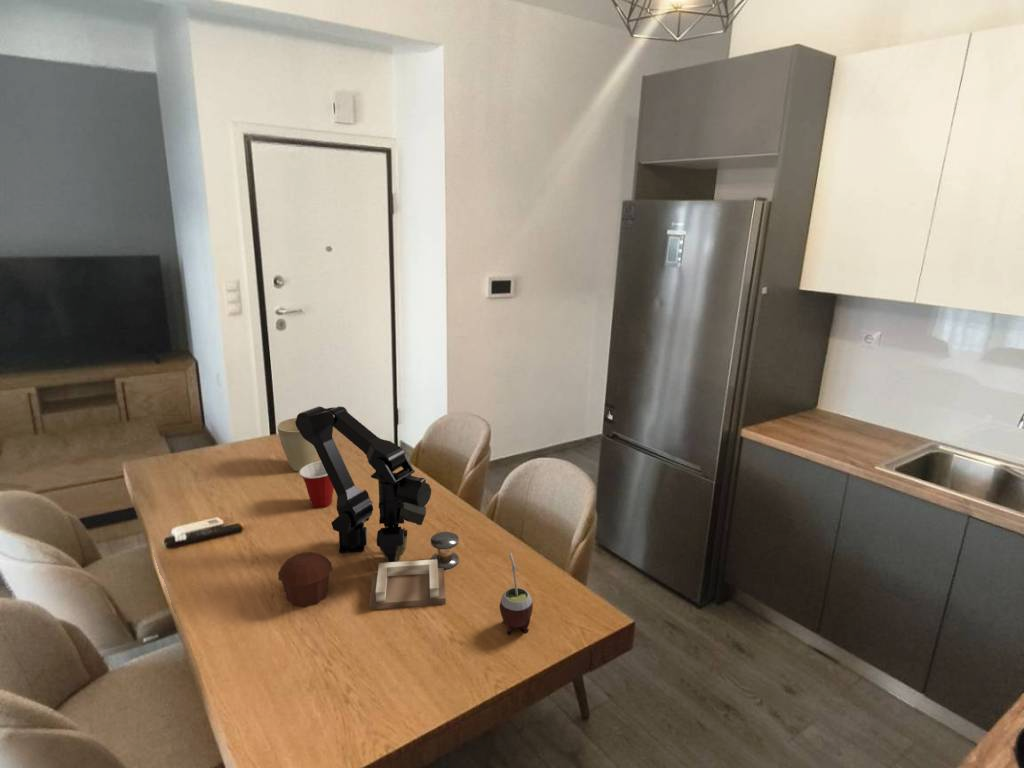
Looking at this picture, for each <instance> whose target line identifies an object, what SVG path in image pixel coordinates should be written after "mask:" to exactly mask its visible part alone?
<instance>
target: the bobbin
mask: <svg viewBox="0 0 1024 768" xmlns="http://www.w3.org/2000/svg"><path fill="white" fill-rule="evenodd" d="M459 542H460V541H459V536H458V535H457V534H456V533H454V532H451V531H440V532H436V533H435V534H433V535H431V537H430V544H431V546H432V547H433V548H434V549H436V553H434V554H433V555H432V556H431V557H430V560H434V559H437V562H438V568H444V570H450V569H453V568H455V567H457V565H458V564H459V559H460V558H459V555H458V554H457V553H455V552H454V549H453V548H455V547H456V546H457V545H458V544H459Z"/></svg>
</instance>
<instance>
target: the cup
mask: <svg viewBox="0 0 1024 768" xmlns="http://www.w3.org/2000/svg"><path fill="white" fill-rule="evenodd" d="M399 527H400V528H402V526H401V525H399ZM383 528H388V527H385V526H384V527H383ZM402 529H403V530H404V544H403V545H401V546H398V547H397V551H396V556H395V561H394V562H400V560H401V558H402V556H403V555H404V553H405V551H406V549H407V548H406V547H407V540H408V529H406V528H405V527H403V528H402ZM379 550H380V553H381V554H382V555H381V556H383V557H385V560H386V563H388V562H389V560H388V559H387V557H386V555H385V554H384V552H383V551H382V549H381V548H380V547H379Z"/></svg>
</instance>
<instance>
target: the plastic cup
mask: <svg viewBox="0 0 1024 768" xmlns="http://www.w3.org/2000/svg"><path fill="white" fill-rule="evenodd" d="M298 472H299V475H300V476H301V477H302V479H303V481H304V484H305V487H306V490H307V494H308V497H309V500H310V503H311V505H312V507H313V508H314V509H315V508H316V509H323V508H328V507H329V506H330V505H331V504H332V502H333V497H334V494H333V493H334V491H335V489H334V487H333V485H332V483H331V481H330V479H329V477H328V475H327V472H326V470H325V468H324V466H323V464H322V462H321V460H317V461H316V462H313V463H310V464H308V465H306V466H304V467H303V468H301V470H300V471H298Z"/></svg>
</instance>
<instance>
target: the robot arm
mask: <svg viewBox="0 0 1024 768" xmlns="http://www.w3.org/2000/svg"><path fill="white" fill-rule="evenodd" d="M295 418H296V421H295V423H296V427H297V429H298V430H299V432H300V433H301V435H302V437H303V438H304V439H305V440H307V441H308V442H310V443H311V444H312V445H314V447H315V449H316V451H317V453H318V457H319V459H320V460H319V461H321V462H322V464H323V466H324V468H325V470H326V472H327V475H328V477H329V479H330V481H331V483H332V485H333V487H334V492H335V493H336V496H337V497H336V507H335V508H336V510H337V514H338V516H337V517H335V519H334V520H332V522H331V528H332V530H333V531H336V532H337V533H338V542H339V543H338V545H339V547H338V553H339V554H344V553H358V552H362V553H363V552H364V551H365V547H366V546H367V545H368V532H367V531H368V529H367V526H365V523H366V522H369V520H370V518H371V516H372V515H373V511H374V507H373V504H374V502H373V501H372V499H371V498H370V495H369V493H368V490H366V489H364V490H361V489H359V488H358V487H357V486H356V485H355V482H354V480H353V478H352V477H351V474H350V472H349V470H348V468H347V466H346V464H345V462H344V460H343V458H342V454H341V453H340V451H339V449H338V447H337V445H336V442H335V440H334V437H333V432H334V429H335V430H337V431H338V432H339V433H340V434H342V436H343V437H345V438H346V439H347V440H348V441H350V442H351V443H352V444H353V445H355V446H356V447H357V448H358V449H359V450H361V451H362V453H364V454H365V455H366V458H367V463H368V464H369V465H370V466H371V467H372V468H373V469H374V470H375V471H374V472H373V473H372V474H371V475H370V477H371V478H372V479H375V480H377V481H378V510H379V521H378V522H379V525H381V524H383V526H384V527H388V528H384V527H381V528H380V529H378V531H377V533H376V534H377V535H376V546H377V547H378V548H379V549H380V548H381V549H382V551H383V552H384V554H385V555H386V557H387V559H388V560H389V562H394V561H395V556H396V551H397V547H398V546H401V545H403V544H404V530H403V528H402V527H401V528H400V527H399V526H400V525H399V524H401V525H402V524H405V522H408V523H412V524H416V526H417V525H418V526H422V525H423V522H424V520H425V517H426V515H427V508H426V505H427V504H428V503H429V501H430V499H431V495H432V488H431V485H430V484H429V483H427V481H426V480H427V479H426V478H425V477H420V476H419V477H417V476H415V475H412V474H414V473H416V472H415V468H414V467H413V465H412V463H411V462H410V460H409V458H408V457H407V455H406V453H405V450H404V449H403V448H402V447H401V446H399V445H398V444H397V443H394V442H392V441H390V440H386V439H382V438H380V437H379V436H377V435H376V434H375V433H373V432H372V430H370V429H369V428H367V426H365V425H364V424H362V423H361V422H360V421H359V420H358V419H356V418H355V417H354V416H353V415H351V414H350V413H349V411H348V409H347V408H346V407H344V406H341V405H340V406H337V407H336V406H335V407H333V406H332V407H327V408H326V407H325V408H324V407H323V406H321V405H320V406H316V407H312V408H311V409H307V410H305V411H302V412H300V413H298V414H297V415H296V417H295ZM400 468H401V470H399V471H398V472H395V471H397V470H398V469H400ZM386 557H385V558H386Z"/></svg>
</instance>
